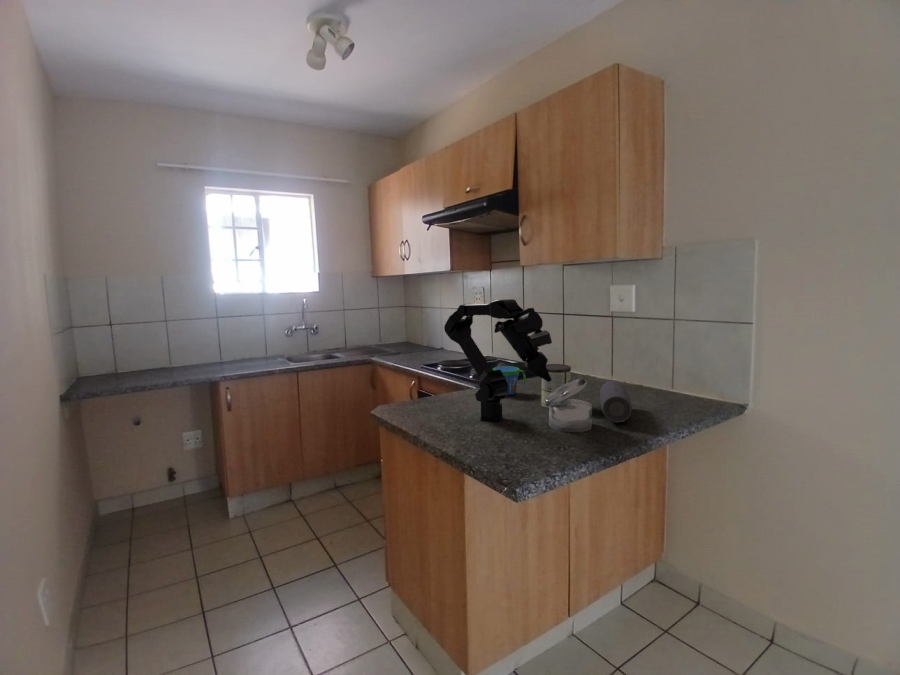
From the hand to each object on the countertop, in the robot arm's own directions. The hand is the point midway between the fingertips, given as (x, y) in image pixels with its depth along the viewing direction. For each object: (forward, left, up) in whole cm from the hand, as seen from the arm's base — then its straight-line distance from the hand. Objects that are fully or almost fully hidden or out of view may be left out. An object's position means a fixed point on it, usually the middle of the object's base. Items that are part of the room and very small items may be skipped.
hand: (546, 376), depth 136 cm
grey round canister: (+7, -2, -15) cm, 17 cm away
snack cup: (-13, +36, -15) cm, 41 cm away
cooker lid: (+6, -2, -5) cm, 8 cm away
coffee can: (+5, +21, -15) cm, 26 cm away
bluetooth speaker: (+23, +10, -15) cm, 29 cm away
